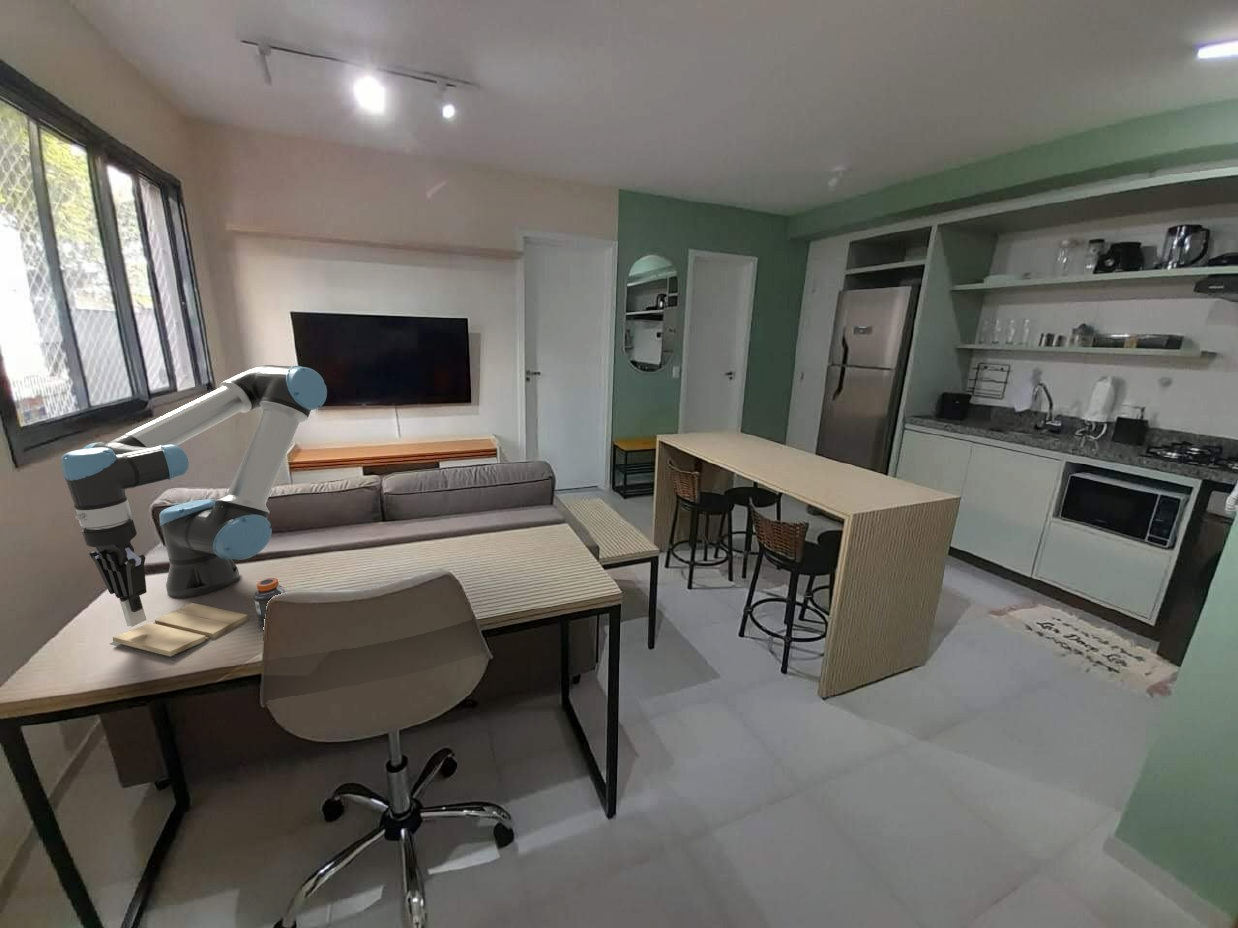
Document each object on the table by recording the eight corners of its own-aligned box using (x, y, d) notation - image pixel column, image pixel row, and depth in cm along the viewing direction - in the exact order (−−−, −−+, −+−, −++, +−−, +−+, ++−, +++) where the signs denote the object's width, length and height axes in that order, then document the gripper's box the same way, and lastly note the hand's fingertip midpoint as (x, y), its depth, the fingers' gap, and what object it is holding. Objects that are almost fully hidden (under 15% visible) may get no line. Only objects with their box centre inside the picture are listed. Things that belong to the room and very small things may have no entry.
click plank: (154, 625, 114) (153, 621, 113) (209, 639, 109) (208, 634, 109) (113, 641, 106) (112, 636, 106) (170, 656, 102) (169, 651, 102)
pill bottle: (295, 617, 119) (288, 575, 116) (280, 631, 113) (272, 587, 110) (270, 617, 118) (262, 575, 116) (253, 632, 113) (244, 587, 110)
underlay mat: (193, 605, 123) (193, 604, 123) (253, 618, 118) (253, 617, 118) (109, 644, 107) (109, 643, 107) (175, 661, 102) (174, 660, 102)
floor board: (192, 607, 122) (191, 602, 121) (248, 619, 117) (247, 614, 117) (155, 624, 114) (154, 620, 114) (213, 638, 110) (212, 633, 109)
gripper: (62, 526, 99) (95, 627, 106) (106, 534, 96) (137, 638, 102) (108, 513, 106) (136, 608, 113) (151, 520, 103) (177, 618, 109)
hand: (137, 622), depth 108 cm, fingers closed
